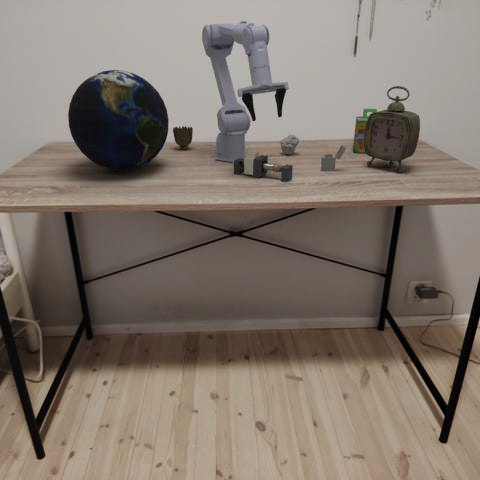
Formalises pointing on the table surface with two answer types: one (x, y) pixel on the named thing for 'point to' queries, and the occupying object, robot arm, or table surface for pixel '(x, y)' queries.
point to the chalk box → (361, 131)
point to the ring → (260, 165)
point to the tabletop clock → (392, 132)
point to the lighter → (331, 160)
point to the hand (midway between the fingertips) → (267, 118)
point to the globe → (118, 120)
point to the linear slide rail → (285, 170)
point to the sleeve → (250, 162)
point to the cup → (183, 136)
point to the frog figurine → (289, 144)
